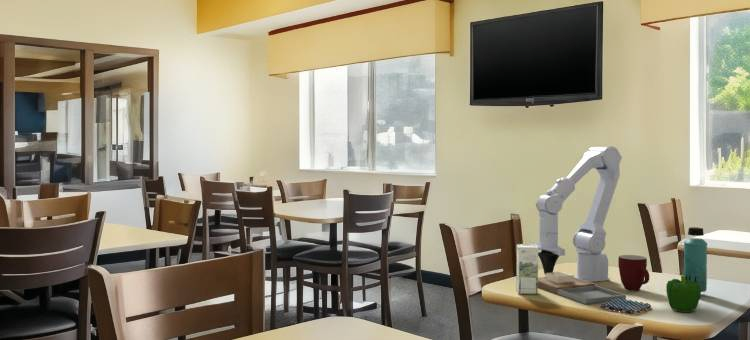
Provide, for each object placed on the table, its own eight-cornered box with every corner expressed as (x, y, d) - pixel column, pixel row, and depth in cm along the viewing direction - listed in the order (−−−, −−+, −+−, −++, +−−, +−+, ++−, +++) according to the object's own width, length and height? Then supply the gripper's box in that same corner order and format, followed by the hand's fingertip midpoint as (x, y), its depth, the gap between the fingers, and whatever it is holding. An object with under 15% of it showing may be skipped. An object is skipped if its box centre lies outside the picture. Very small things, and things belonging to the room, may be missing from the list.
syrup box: (535, 290, 202) (535, 243, 201) (538, 295, 196) (538, 246, 195) (516, 290, 202) (516, 243, 202) (518, 294, 197) (518, 246, 196)
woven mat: (597, 310, 180) (597, 303, 180) (617, 303, 187) (617, 296, 187) (634, 318, 172) (634, 310, 172) (653, 311, 179) (653, 303, 179)
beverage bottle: (705, 293, 197) (706, 226, 196) (708, 298, 191) (709, 229, 190) (681, 291, 199) (682, 225, 198) (683, 296, 193) (685, 228, 192)
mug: (659, 292, 199) (659, 259, 198) (640, 295, 195) (641, 261, 194) (630, 285, 208) (630, 254, 207) (612, 288, 204) (612, 256, 203)
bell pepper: (674, 304, 184) (674, 269, 183) (704, 310, 178) (705, 273, 177) (660, 310, 178) (660, 273, 178) (691, 316, 172) (691, 278, 172)
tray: (595, 290, 202) (595, 285, 202) (625, 300, 190) (626, 294, 189) (557, 294, 197) (557, 289, 197) (585, 304, 185) (585, 299, 185)
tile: (561, 277, 211) (561, 271, 211) (573, 281, 205) (573, 275, 205) (545, 279, 209) (546, 272, 208) (557, 283, 203) (557, 276, 203)
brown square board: (566, 280, 215) (566, 274, 215) (595, 290, 202) (595, 283, 202) (529, 284, 210) (529, 278, 210) (556, 294, 197) (556, 287, 197)
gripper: (525, 230, 217) (525, 271, 218) (551, 236, 204) (551, 279, 204) (543, 229, 220) (543, 269, 220) (570, 234, 206) (570, 278, 207)
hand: (548, 274), depth 212 cm, fingers closed
